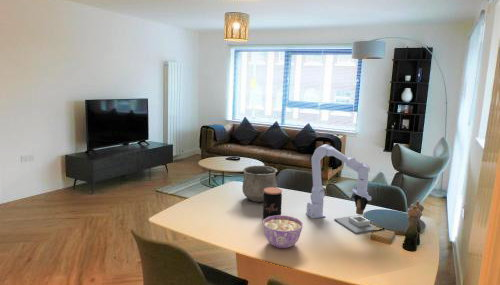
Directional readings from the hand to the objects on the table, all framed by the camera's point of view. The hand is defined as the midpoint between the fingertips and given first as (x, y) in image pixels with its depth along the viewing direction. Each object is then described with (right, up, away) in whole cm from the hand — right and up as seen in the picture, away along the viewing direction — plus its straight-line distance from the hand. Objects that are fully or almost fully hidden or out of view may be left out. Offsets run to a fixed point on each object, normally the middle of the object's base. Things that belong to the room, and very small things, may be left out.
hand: (360, 208), depth 207 cm
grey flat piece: (0, -10, +2) cm, 10 cm away
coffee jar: (-51, -8, +6) cm, 51 cm away
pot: (-57, -2, +39) cm, 69 cm away
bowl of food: (-47, -14, -25) cm, 55 cm away
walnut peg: (0, -3, +1) cm, 3 cm away
